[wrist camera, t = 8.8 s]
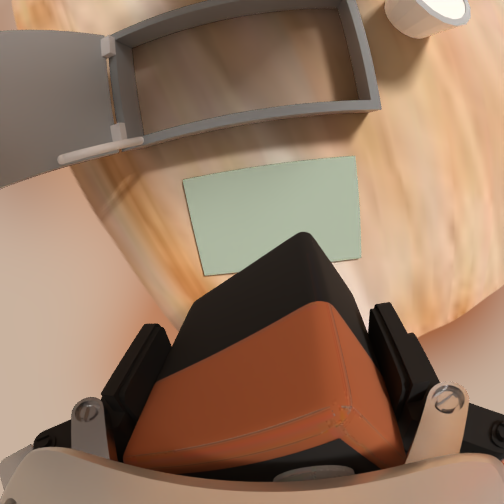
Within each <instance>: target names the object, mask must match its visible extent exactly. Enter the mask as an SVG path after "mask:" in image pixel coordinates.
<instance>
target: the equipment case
mask: <svg viewBox="0 0 504 504" xmlns="http://www.w3.org/2000/svg"><path fill="white" fill-rule="evenodd" d="M317 8H337V9H338V12H339V16H340V19H341V23H342V26H343V30H344V34H345V38H346V42H347V46H348V50H349V54H350V58H351V63H352V67H353V72H354V77H355V82H356V87H357V93H358V99H359V100H350V101H330V102H317V103H305V104H295V105H287V106H279V107H271V108H264V109H258V110H251V111H246V112H240V113H234V114H229V115H224V116H219V117H214V118H210V119H205V120H201V121H196V122H192V123H188V124H184V125H180V126H176V127H172V128H169V129H165V130H161V131H158V132H155V133H151V134H148V135H144V131H143V126H142V120H141V114H140V107H139V101H138V94H137V87H136V80H135V72H134V64H133V55H132V48H134V47H136V46H139V45H141V44H144V43H146V42H149V41H152V40H154V39H157V38H160V37H163V36H166V35H169V34H172V33H175V32H178V31H182V30H185V29H189V28H192V27H196V26H200V25H203V24H207V23H212V22H216V21H220V20H225V19H230V18H235V17H240V16H246V15H252V14H259V13H266V12H275V11H284V10H297V9H317ZM101 54H102V57H106V59H107V58H109V67H110V77H111V85H112V93H113V101H114V108H115V115H116V121H117V124H114V125H111V126H110V129H111V135H112V140H113V142H110V143H105V144H101V145H96V146H92V147H88V148H84V149H80V150H76V151H73V152H69V153H65V154H62V155H60V156H59V157H58V159H57V161H58V163H59V164H61V165H62V164H65V163H69V162H72V161H76V160H79V159H83V158H86V157H90V156H94V155H98V154H102V153H106V152H110V151H114V150H118V149H122V152H124V151H131V150H137V149H142V148H145V147H149V146H152V145H156V144H160V143H163V142H167V141H171V140H175V139H179V138H183V137H187V136H191V135H195V134H200V133H204V132H209V131H214V130H219V129H224V128H229V127H234V126H240V125H246V124H252V123H258V122H265V121H272V120H279V119H287V118H296V117H305V116H316V115H328V114H344V113H369V112H373V111H377V110H381V102H380V96H379V91H378V85H377V80H376V75H375V70H374V66H373V61H372V57H371V53H370V48H369V44H368V41H367V37H366V33H365V29H364V26H363V22H362V19H361V16H360V13H359V9H358V6H357V3H356V0H207V1H203V2H200V3H196V4H192V5H189V6H185V7H182V8H179V9H175V10H172V11H169V12H166V13H163V14H161V15H158V16H155V17H152V18H150V19H147V20H144V21H142V22H139V23H137V24H135V25H132V26H130V27H127V28H125V29H123V30H121V31H119V32H116V33H114V34H112V35H108V36H106V37H104V38H102V39H101Z"/></svg>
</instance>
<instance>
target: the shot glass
mask: <svg viewBox="0 0 504 504" xmlns="http://www.w3.org/2000/svg"><path fill="white" fill-rule="evenodd" d="M384 9H385V13H386V16H387V18H388V19H389V21H390V22H391V23H392V25H393V26H394V27H395V28H397V29H398V30H399V31H400V32H401V33H403V34H405V35H407V36H409V37H411V38H417V39H422V38H425V37H429V36H431V35H434V34H437V33H440V32H443V31H446V30H449V29H452V28H455V27H458V26H462V25H465V24H466V23H467V22H468V21H469V19H470V6H469V3H468V1H467V0H386V1H385V6H384Z"/></svg>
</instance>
